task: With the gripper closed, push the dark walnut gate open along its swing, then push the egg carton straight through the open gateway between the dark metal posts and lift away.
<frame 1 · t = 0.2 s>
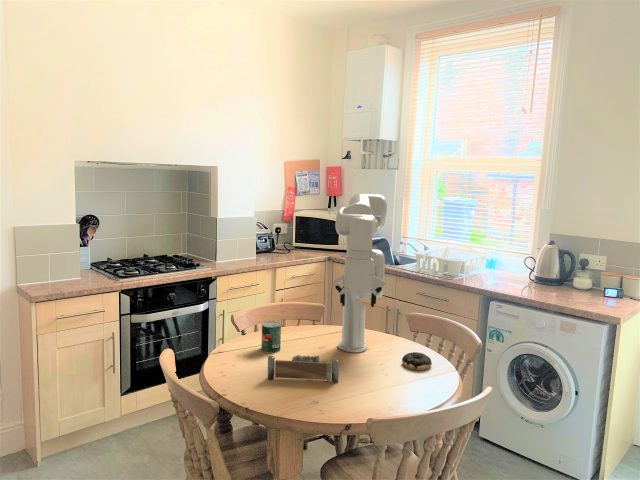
hand: (357, 305, 169), 31 cm above the table, tool pointing down, fingers open, 9 cm apart
donut: (416, 366, 201), on the table
gate posts: (302, 380, 183), on the table
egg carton: (305, 367, 196), on the table
canned tomato: (270, 350, 212), on the table
gate: (303, 370, 182), point 4 cm above the table, hinge at 0.0°
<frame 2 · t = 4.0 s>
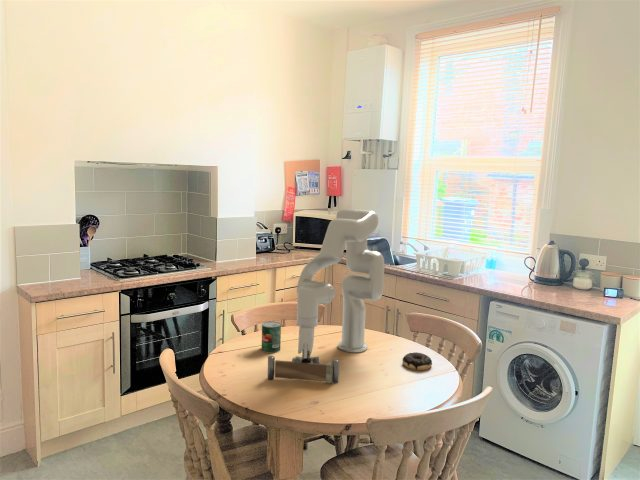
hand: (305, 369, 184), 3 cm above the table, tool pointing down, fingers closed
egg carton: (305, 368, 194), on the table
gate: (302, 371, 181), point 4 cm above the table, hinge at 4.4°, touching gripper
everything else where it was.
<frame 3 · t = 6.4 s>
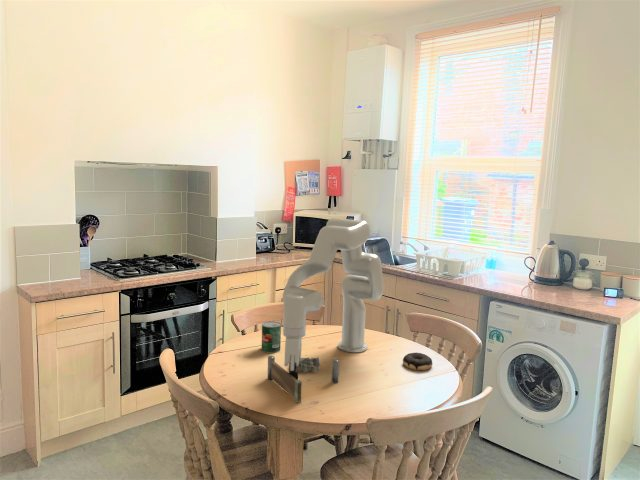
hand: (293, 381, 174), 3 cm above the table, tool pointing down, fingers closed
gate: (285, 380, 173), point 4 cm above the table, hinge at 57.4°, touching gripper
everything else where it was.
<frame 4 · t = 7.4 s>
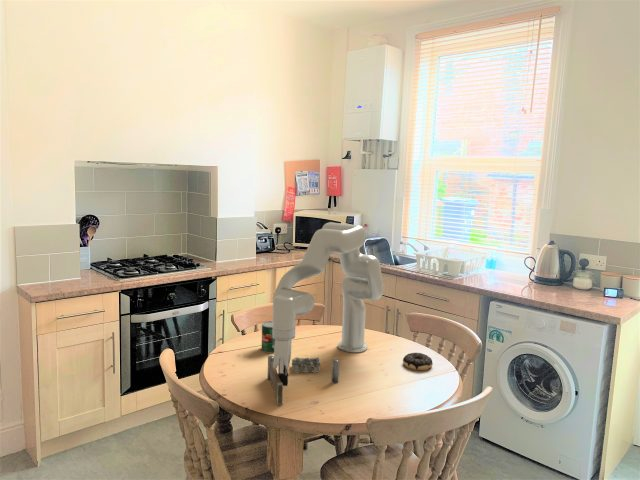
hand: (282, 384, 172), 3 cm above the table, tool pointing down, fingers closed
gate: (275, 381, 172), point 4 cm above the table, hinge at 74.5°, touching gripper
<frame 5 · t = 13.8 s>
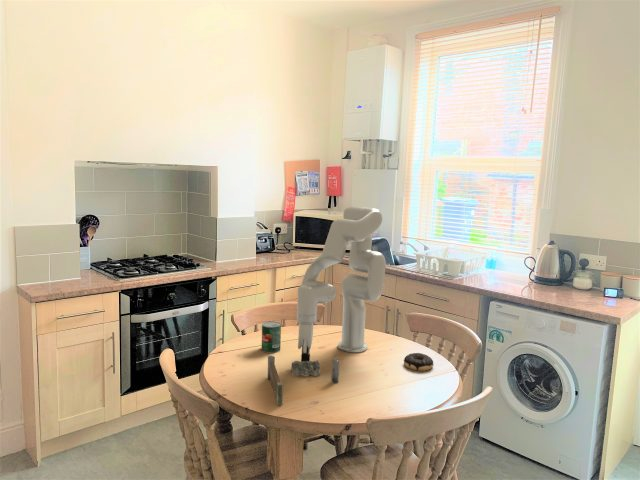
hand: (305, 363, 195), 1 cm above the table, tool pointing down, fingers closed
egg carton: (305, 373, 190), on the table
gate: (275, 381, 172), point 4 cm above the table, hinge at 74.6°
everything else where it was.
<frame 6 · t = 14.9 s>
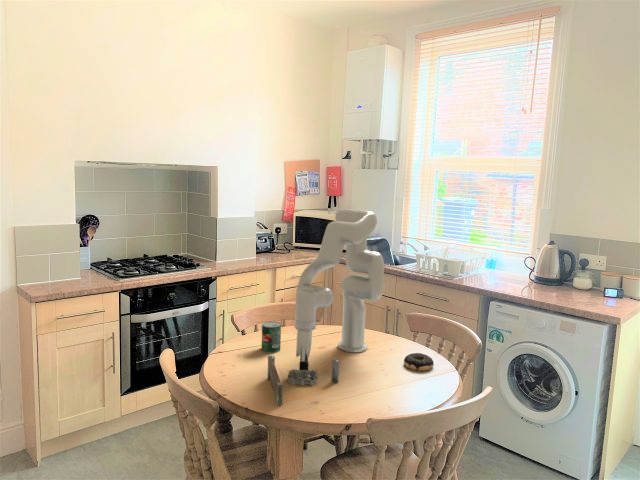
hand: (303, 372, 187), 1 cm above the table, tool pointing down, fingers closed
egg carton: (302, 382, 182), on the table
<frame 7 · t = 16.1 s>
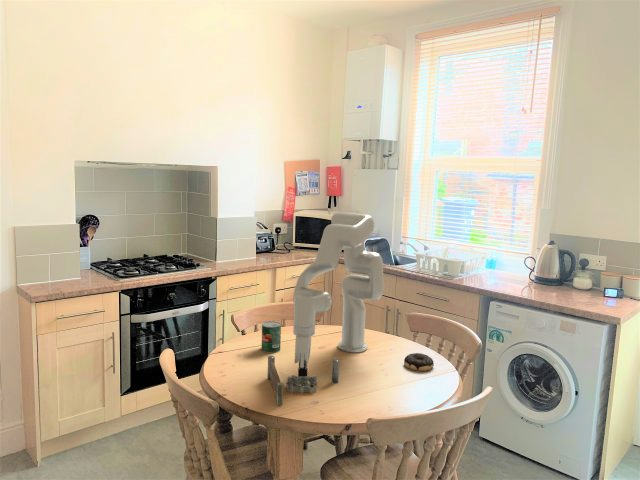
hand: (302, 378, 182), 1 cm above the table, tool pointing down, fingers closed
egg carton: (301, 389, 176), on the table
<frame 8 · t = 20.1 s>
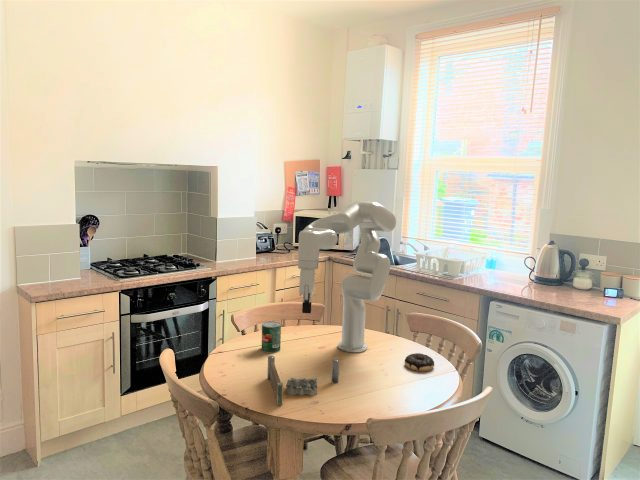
hand: (306, 312, 190), 22 cm above the table, tool pointing down, fingers closed
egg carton: (301, 392, 174), on the table
at the end: gate at +75° (first picture: +0°); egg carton inside the target area (0.9 cm from its centre), on the table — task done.
